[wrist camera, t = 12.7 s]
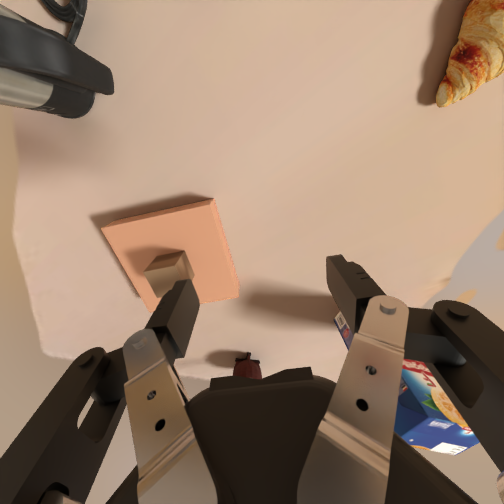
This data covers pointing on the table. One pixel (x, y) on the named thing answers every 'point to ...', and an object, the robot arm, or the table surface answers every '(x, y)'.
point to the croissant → (475, 52)
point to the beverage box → (423, 408)
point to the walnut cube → (168, 272)
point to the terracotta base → (177, 249)
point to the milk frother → (49, 64)
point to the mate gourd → (247, 368)
